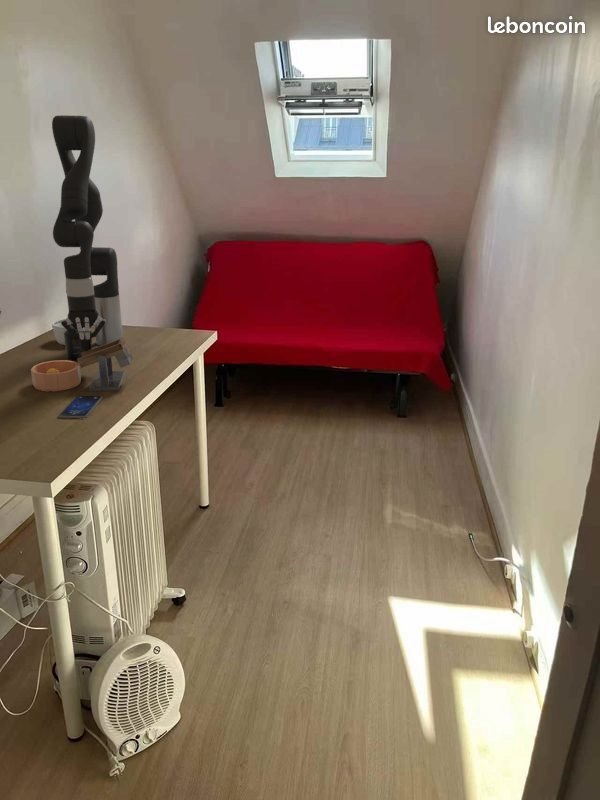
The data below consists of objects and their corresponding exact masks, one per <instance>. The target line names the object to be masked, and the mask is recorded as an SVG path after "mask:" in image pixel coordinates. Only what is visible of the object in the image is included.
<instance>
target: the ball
mask: <svg viewBox="0 0 600 800" xmlns="http://www.w3.org/2000/svg"><path fill="white" fill-rule="evenodd" d="M46 373H60V372H59V371H58V370H57V369H53V368H52V369H49V370H48V371H47V372H46Z"/></svg>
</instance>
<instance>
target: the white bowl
mask: <svg viewBox="0 0 600 800" xmlns="http://www.w3.org/2000/svg"><path fill="white" fill-rule="evenodd" d="M65 319H66V318H63V319H58V320H55V321H53V322H52V323H51V327H52V330H53V334H54V337H55V340H56V343H58V344H59V345H61V346H62V345H63V346H65V341H64V332H65V331H66V329H65V328H64V326H63V325H62V324H61V322H62V321H63V320H65ZM84 330H85V327H84Z"/></svg>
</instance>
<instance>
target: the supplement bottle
mask: <svg viewBox="0 0 600 800" xmlns="http://www.w3.org/2000/svg"><path fill="white" fill-rule="evenodd" d="M70 322H71V321H70ZM71 325H72V326H73V327H74V328H75V329H76V330H77V331H78V328H77V327H76V326H75V325H74V324H73V323H72V322H71ZM85 337H86V332H85ZM64 341H65V345H64V347H65V353H66V359H68V361H77V359H78V358H81V357H82V355H81V353H83V352H85V351H84V350H82V347H81V340H80V339H79V338H75V337H73V336H72V335H71V334H70V333H69V332H68V331H67V330H66V331H65V332H64Z"/></svg>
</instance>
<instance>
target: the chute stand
mask: <svg viewBox="0 0 600 800" xmlns="http://www.w3.org/2000/svg"><path fill="white" fill-rule="evenodd" d="M98 361H99V362H98V368H99V371H96V373H95V375H94V377H93V379H92V381H91V383H90V385H89V387H88V391H89V392H102V390H103V392H104V391H106V390H109V391H120V388H121V385H122V382H123V379H124V376H125V371H124V370H117V371H116V370H115V371H114V366H113V357H110V358H107V359H106V355H98ZM106 392H107V391H106Z"/></svg>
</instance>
